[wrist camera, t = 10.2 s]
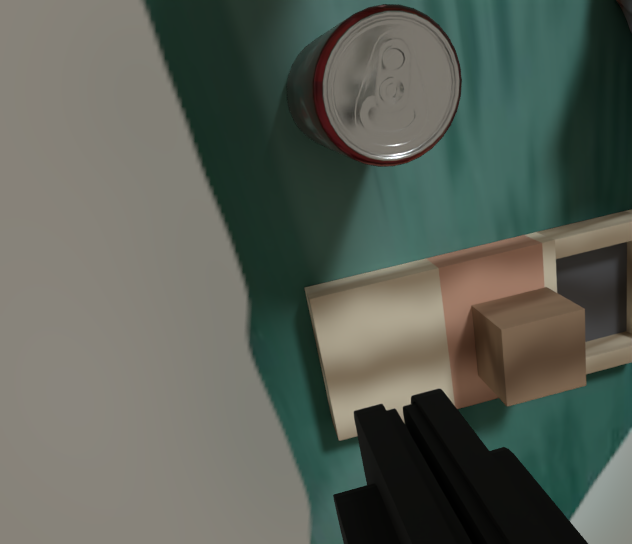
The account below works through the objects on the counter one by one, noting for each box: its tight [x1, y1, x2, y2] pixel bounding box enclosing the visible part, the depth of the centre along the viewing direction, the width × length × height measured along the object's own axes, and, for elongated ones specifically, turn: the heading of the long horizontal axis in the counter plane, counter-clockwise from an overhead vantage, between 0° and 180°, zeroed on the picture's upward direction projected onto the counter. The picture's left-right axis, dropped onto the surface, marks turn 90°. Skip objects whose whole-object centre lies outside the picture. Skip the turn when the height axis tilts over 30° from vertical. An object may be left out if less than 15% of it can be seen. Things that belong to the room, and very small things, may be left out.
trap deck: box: [304, 209, 632, 441], centre depth 42 cm, size 12×27×2 cm, turn 101°
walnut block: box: [472, 287, 586, 406], centre depth 39 cm, size 6×6×4 cm
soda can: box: [287, 4, 462, 167], centre depth 30 cm, size 7×7×12 cm
